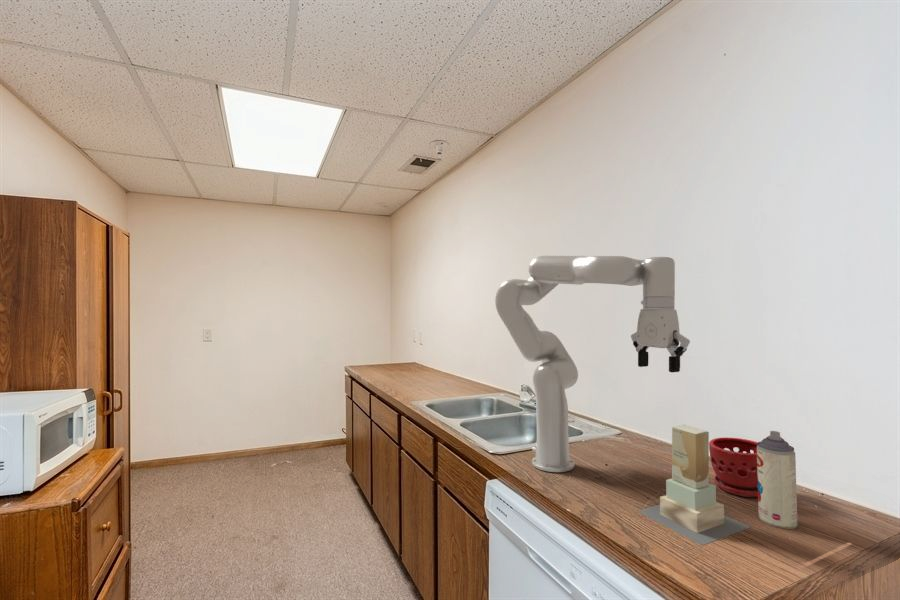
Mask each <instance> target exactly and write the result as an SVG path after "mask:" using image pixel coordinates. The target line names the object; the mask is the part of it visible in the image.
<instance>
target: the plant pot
mask: <svg viewBox="0 0 900 600" xmlns="http://www.w3.org/2000/svg"><path fill="white" fill-rule="evenodd" d="M758 442H759V441H754V440H751V439H745V438H739V437H716V438H713V439H711V440H710V441H709V457H710V458H709V459H710V462H711V466H712V469H713V472H714V474H715V476H714V478H713V479H714V483H715V485H717V486H718V488H720V489H722V490H724V492H727V493H730V494H733V495H736V496H741V497H749V498H750V497H751V498H755V497H756V498H758V477H757V445H758V444H757V443H758ZM734 448H737V449H738V451H735V450H734ZM727 449H728V450H727ZM751 451H752V452H751Z"/></svg>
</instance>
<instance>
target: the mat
mask: <svg viewBox="0 0 900 600" xmlns="http://www.w3.org/2000/svg"><path fill="white" fill-rule="evenodd" d="M636 512H637V513H639V514H641V515H643V516H644V517H647V518H649V519H650V520H652V521H654V522H656V523H659V524H661V525H662V526H664V527H666V528H668V529H670V530H672V531H673V532H675V533H677V534H679V535H682V536H683V537H685V538H687V539H689V540H691V541H692V542H695V543H696V544H699V545H700V546H705V545H708V544H711V543H714V542H716V541H718V540H721V539H723V538H726V537H729V536H732V535H733V534H736V533H740V532H742V531H745V530H748V529H750V528H751V526H749V525H747V524H745V523H742V522H740V521H738V520H736V519H733V518H731V517H729V516H726V515H724V524H721V525H718V526H716V527H713V528H710V529H707V530H704V531H702V532H699V533H696V532H694V531H692V530H690V529H688V528H686V527H684V526H682V525H680V524H678V523H676V522H674V521H672V520H670V519H668V518H666V517H664V516H662V515H660V503H659V504H656V505H653V506H650V507H646V508H643V509H640V510H637V511H636Z"/></svg>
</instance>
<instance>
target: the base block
mask: <svg viewBox="0 0 900 600" xmlns="http://www.w3.org/2000/svg"><path fill="white" fill-rule="evenodd" d="M659 504H660V515H662V516H664V517H666V518H668V519H670V520H672V521H674V522H676V523H678V524H680V525H682V526H684V527H686V528H688V529H690V530H692V531H694V532H696V533H699V532H702V531H704V530H707V529H710V528H713V527H716V526H718V525H721V524H724V516H725V505H724V504H722V503H721V502H717V501H716V504H715V505H712V506H708V507H705V508H702V509H699V510H696V511H695V510H693V509H690V508H688V507H686V506H684V505H682V504H679V503H677V502H675V501H673V500H670V499H668V498H666V494H665V495H662V496H659Z"/></svg>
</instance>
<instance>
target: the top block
mask: <svg viewBox="0 0 900 600" xmlns="http://www.w3.org/2000/svg"><path fill="white" fill-rule="evenodd" d="M665 488H666V489H665V491H666V492H665V493H666V494H665V495H666V498H668V499H670V500H673V501H675V502H677V503H679V504H682V505H684V506H686V507H688V508H690V509H693V510H695V511H696V510H699V509H702V508H705V507H708V506H712V505H715V504H716V502H717V486H716V484H715V485H714V484H712V483H709V486H706V487H703V488H699V489H695V488H692V487H690V486H688V485H685V484H683V483H681V482H678V481H676V480H673V479H672V478H668V479H666V480H665Z"/></svg>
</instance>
